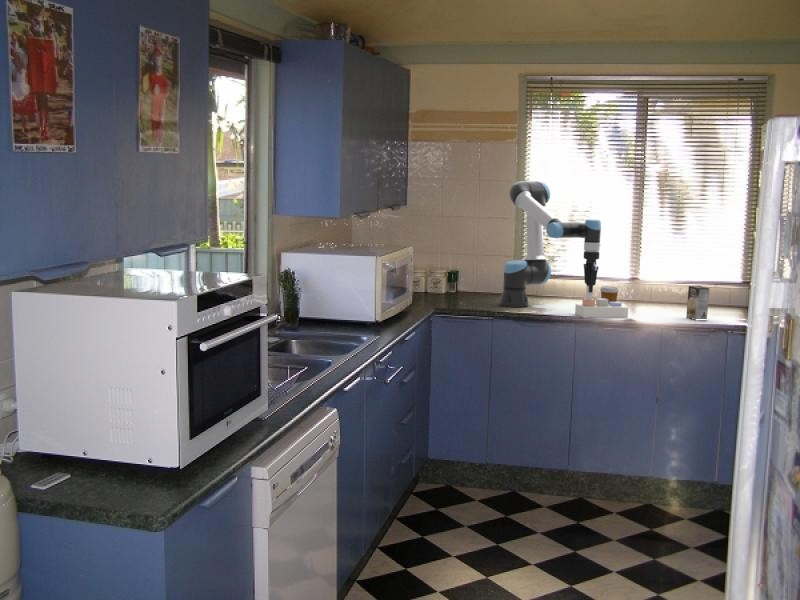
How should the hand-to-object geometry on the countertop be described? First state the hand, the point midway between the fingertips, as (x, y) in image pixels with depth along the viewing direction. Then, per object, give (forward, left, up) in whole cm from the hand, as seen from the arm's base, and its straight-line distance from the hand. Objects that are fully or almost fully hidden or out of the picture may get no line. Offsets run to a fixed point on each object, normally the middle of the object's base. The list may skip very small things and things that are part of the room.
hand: (589, 298), depth 450 cm
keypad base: (0, +7, -9) cm, 11 cm away
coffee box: (+12, +52, -9) cm, 54 cm away
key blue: (0, +14, -8) cm, 16 cm away
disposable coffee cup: (-16, +18, -9) cm, 26 cm away
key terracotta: (0, 0, -6) cm, 6 cm away
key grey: (0, +7, -6) cm, 9 cm away
